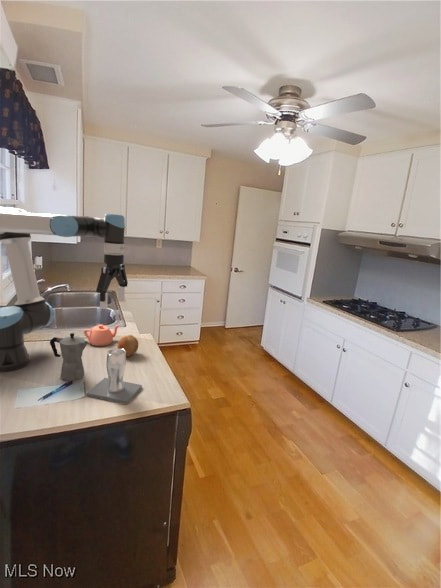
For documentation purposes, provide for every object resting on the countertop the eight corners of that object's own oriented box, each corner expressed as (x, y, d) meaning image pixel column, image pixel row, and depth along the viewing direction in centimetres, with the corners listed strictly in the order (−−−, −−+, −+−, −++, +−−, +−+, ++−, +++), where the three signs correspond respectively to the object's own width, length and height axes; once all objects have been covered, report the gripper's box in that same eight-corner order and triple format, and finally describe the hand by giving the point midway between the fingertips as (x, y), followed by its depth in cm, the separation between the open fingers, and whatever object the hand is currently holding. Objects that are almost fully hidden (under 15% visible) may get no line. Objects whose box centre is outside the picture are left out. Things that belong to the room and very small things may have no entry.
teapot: (82, 339, 159) (82, 322, 157) (117, 336, 169) (117, 320, 167) (85, 348, 149) (85, 330, 147) (122, 344, 159) (123, 327, 157)
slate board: (86, 395, 111) (86, 392, 111) (104, 380, 123) (104, 377, 122) (127, 404, 108) (127, 401, 108) (141, 387, 120) (141, 385, 120)
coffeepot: (93, 371, 129) (93, 331, 125) (83, 382, 120) (83, 339, 116) (57, 367, 129) (56, 327, 125) (44, 378, 119) (42, 335, 116)
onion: (125, 349, 153) (125, 330, 151) (142, 353, 150) (143, 334, 148) (112, 356, 144) (113, 336, 142) (130, 361, 141) (131, 340, 139)
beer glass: (103, 386, 116) (103, 350, 113) (120, 382, 120) (122, 346, 117) (109, 395, 111) (110, 357, 107) (128, 390, 115) (129, 353, 112)
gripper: (105, 257, 109) (104, 314, 114) (136, 252, 133) (134, 299, 138) (86, 255, 110) (86, 311, 115) (121, 250, 134) (119, 297, 139)
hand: (112, 304), depth 126 cm, fingers open, 13 cm apart
